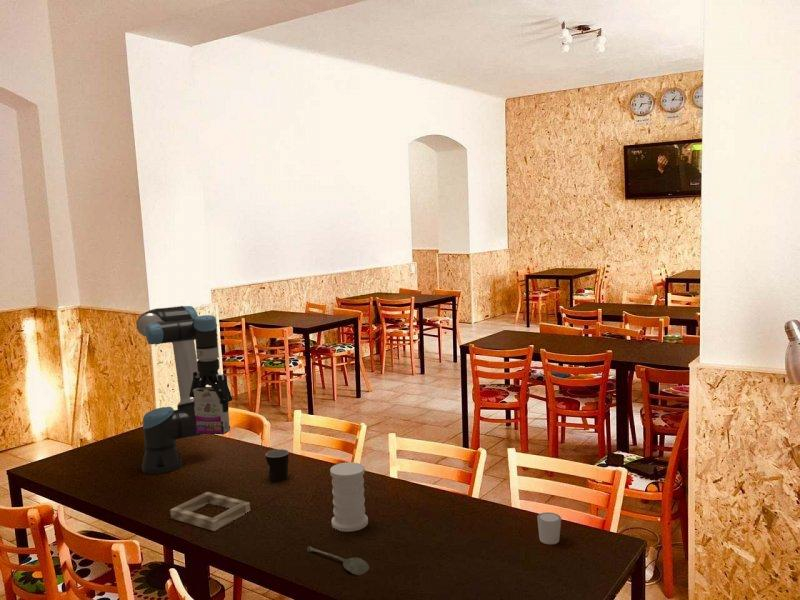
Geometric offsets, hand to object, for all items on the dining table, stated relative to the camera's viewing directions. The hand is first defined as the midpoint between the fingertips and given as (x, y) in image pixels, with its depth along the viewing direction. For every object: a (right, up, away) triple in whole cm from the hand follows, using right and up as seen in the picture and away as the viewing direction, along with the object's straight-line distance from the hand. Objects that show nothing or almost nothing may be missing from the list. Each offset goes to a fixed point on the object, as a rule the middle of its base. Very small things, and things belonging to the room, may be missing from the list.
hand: (212, 418), depth 237 cm
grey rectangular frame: (+5, -29, -18) cm, 34 cm away
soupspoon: (+50, -32, -51) cm, 78 cm away
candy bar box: (0, -5, +1) cm, 5 cm away
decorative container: (+52, -28, -28) cm, 65 cm away
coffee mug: (+22, -25, +12) cm, 35 cm away
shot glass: (+111, -28, -43) cm, 123 cm away
